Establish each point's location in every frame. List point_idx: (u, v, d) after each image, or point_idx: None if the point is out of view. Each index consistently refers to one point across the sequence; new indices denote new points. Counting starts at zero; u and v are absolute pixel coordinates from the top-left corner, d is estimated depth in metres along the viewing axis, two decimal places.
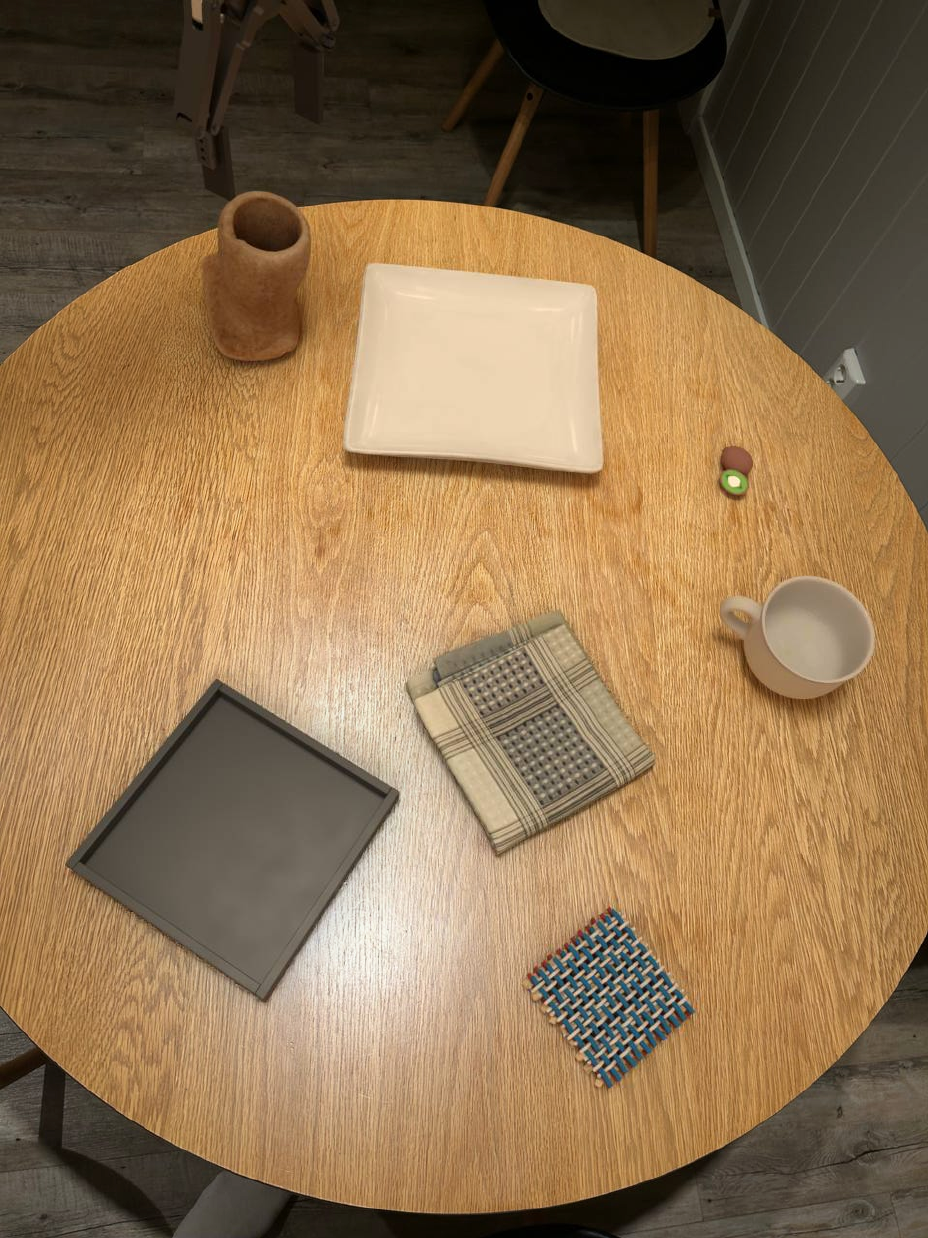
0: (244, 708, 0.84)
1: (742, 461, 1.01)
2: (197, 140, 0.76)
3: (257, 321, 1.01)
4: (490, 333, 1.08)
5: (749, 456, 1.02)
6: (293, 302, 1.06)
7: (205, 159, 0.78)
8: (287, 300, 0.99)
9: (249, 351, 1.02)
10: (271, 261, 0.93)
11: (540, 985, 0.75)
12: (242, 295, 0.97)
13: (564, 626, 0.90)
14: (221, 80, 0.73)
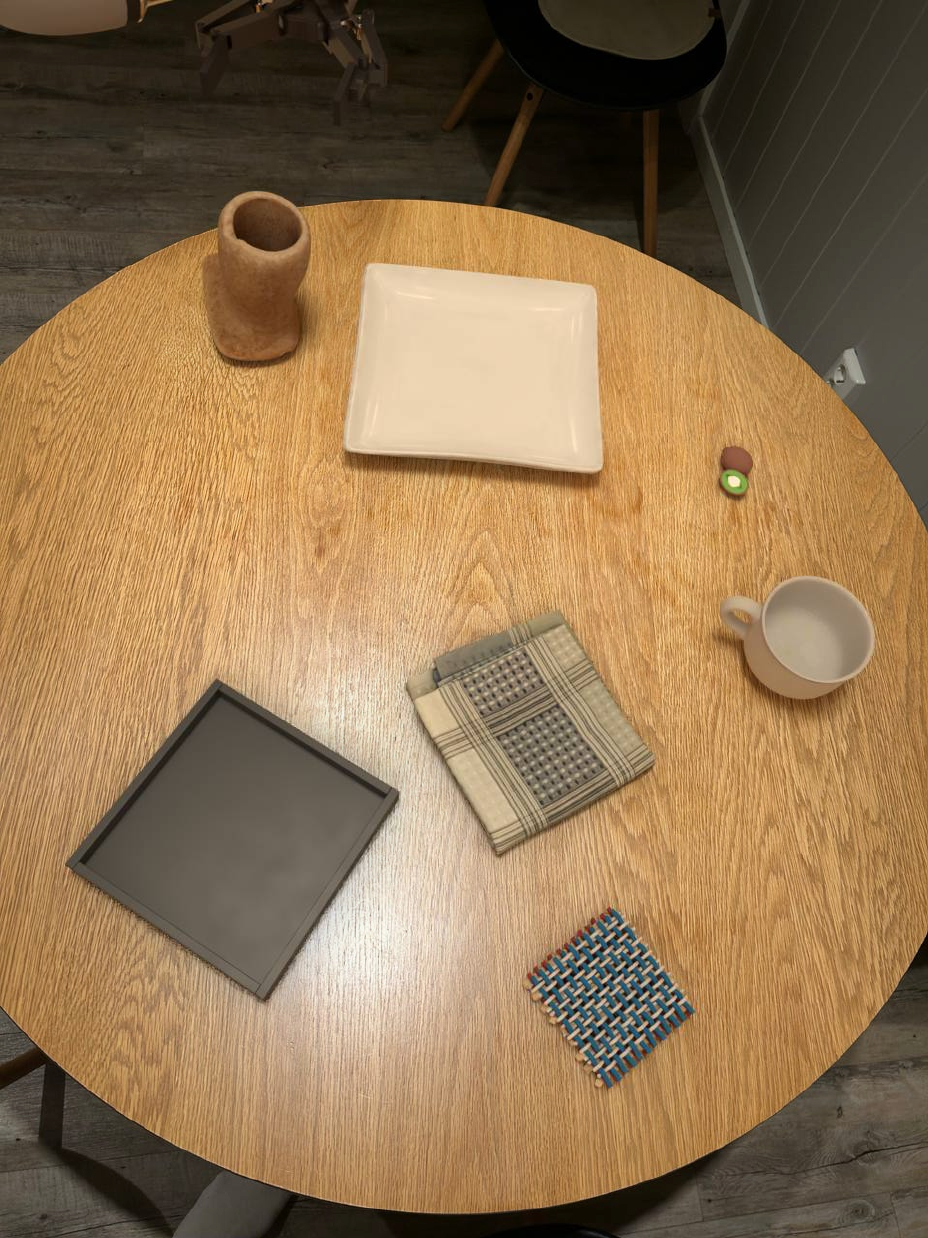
0: (244, 708, 0.84)
1: (742, 461, 1.01)
2: (365, 79, 0.96)
3: (257, 321, 1.01)
4: (490, 333, 1.08)
5: (749, 456, 1.02)
6: (293, 302, 1.06)
7: (361, 93, 0.96)
8: (287, 300, 0.99)
9: (249, 351, 1.02)
10: (271, 261, 0.93)
11: (540, 985, 0.75)
12: (242, 295, 0.97)
13: (564, 626, 0.90)
14: None
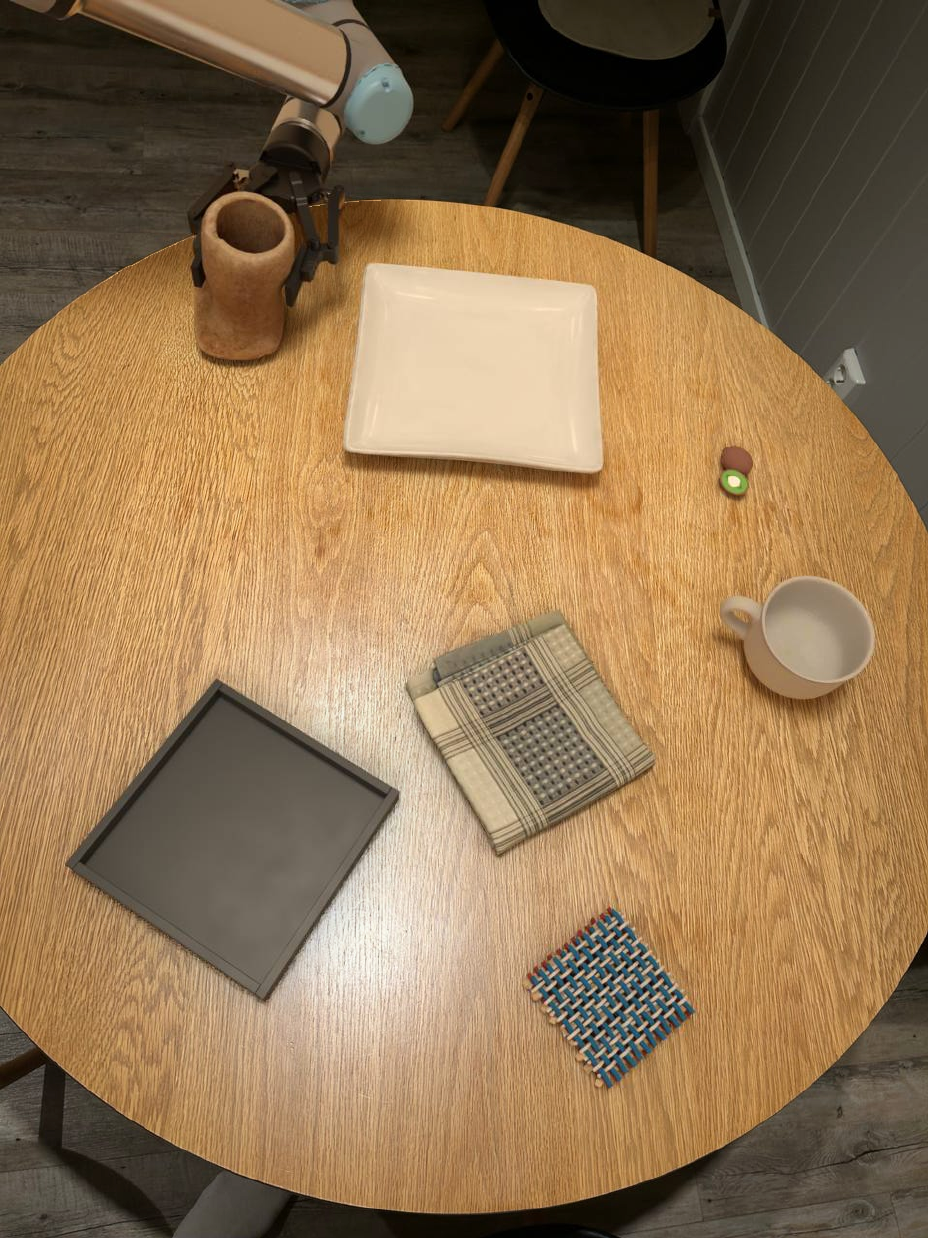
0: (244, 708, 0.84)
1: (742, 461, 1.01)
2: (317, 260, 1.00)
3: (237, 320, 1.01)
4: (490, 333, 1.08)
5: (749, 456, 1.02)
6: (280, 305, 1.05)
7: (313, 273, 1.00)
8: (266, 302, 0.98)
9: (227, 350, 1.02)
10: (248, 262, 0.93)
11: (540, 985, 0.75)
12: (221, 294, 0.97)
13: (564, 626, 0.90)
14: None
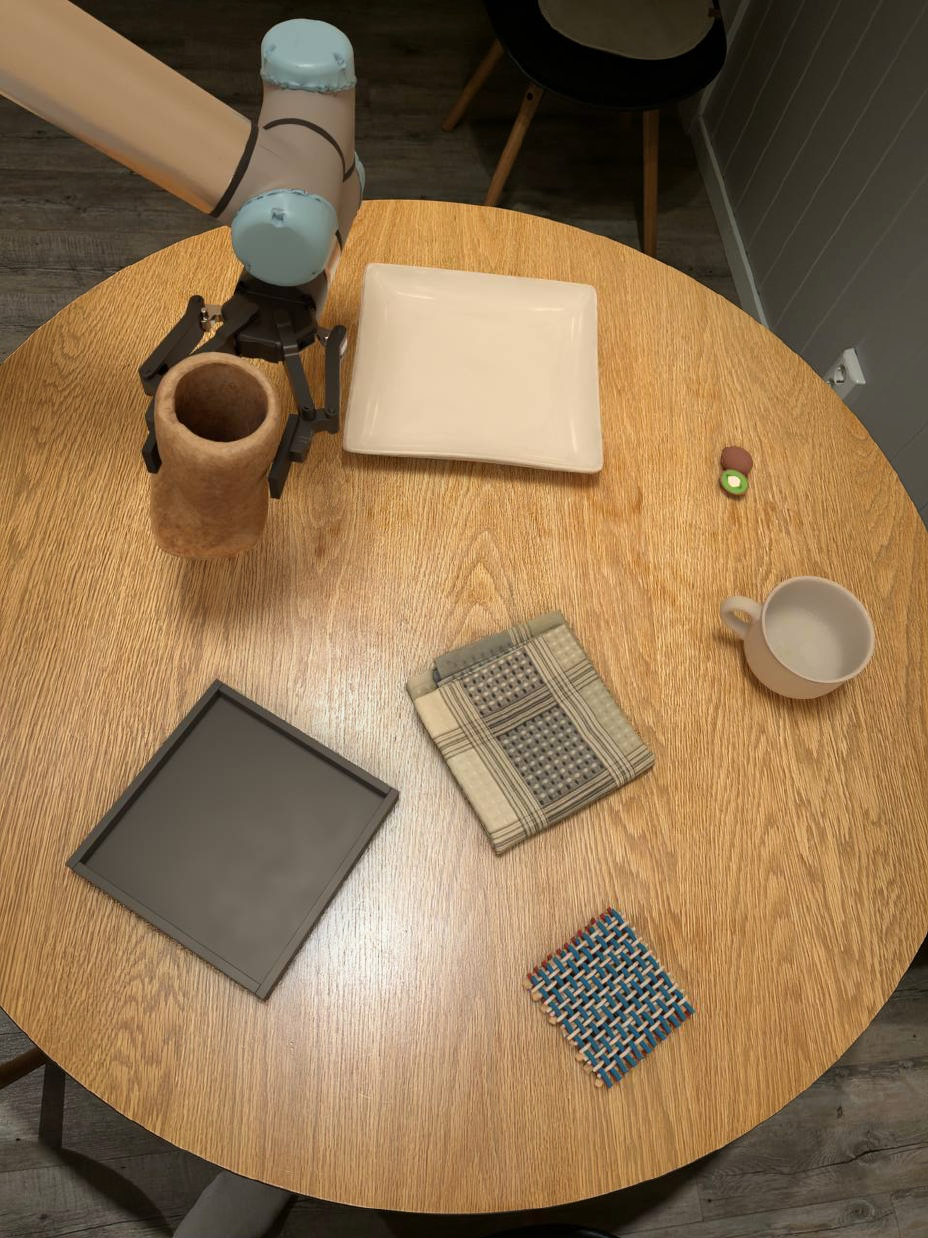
0: (244, 708, 0.84)
1: (742, 461, 1.01)
2: (311, 433, 0.75)
3: (206, 513, 0.76)
4: (490, 333, 1.08)
5: (749, 456, 1.02)
6: (264, 481, 0.81)
7: (306, 452, 0.75)
8: (244, 494, 0.74)
9: (194, 548, 0.77)
10: (217, 456, 0.68)
11: (540, 985, 0.75)
12: (182, 487, 0.72)
13: (564, 626, 0.90)
14: None
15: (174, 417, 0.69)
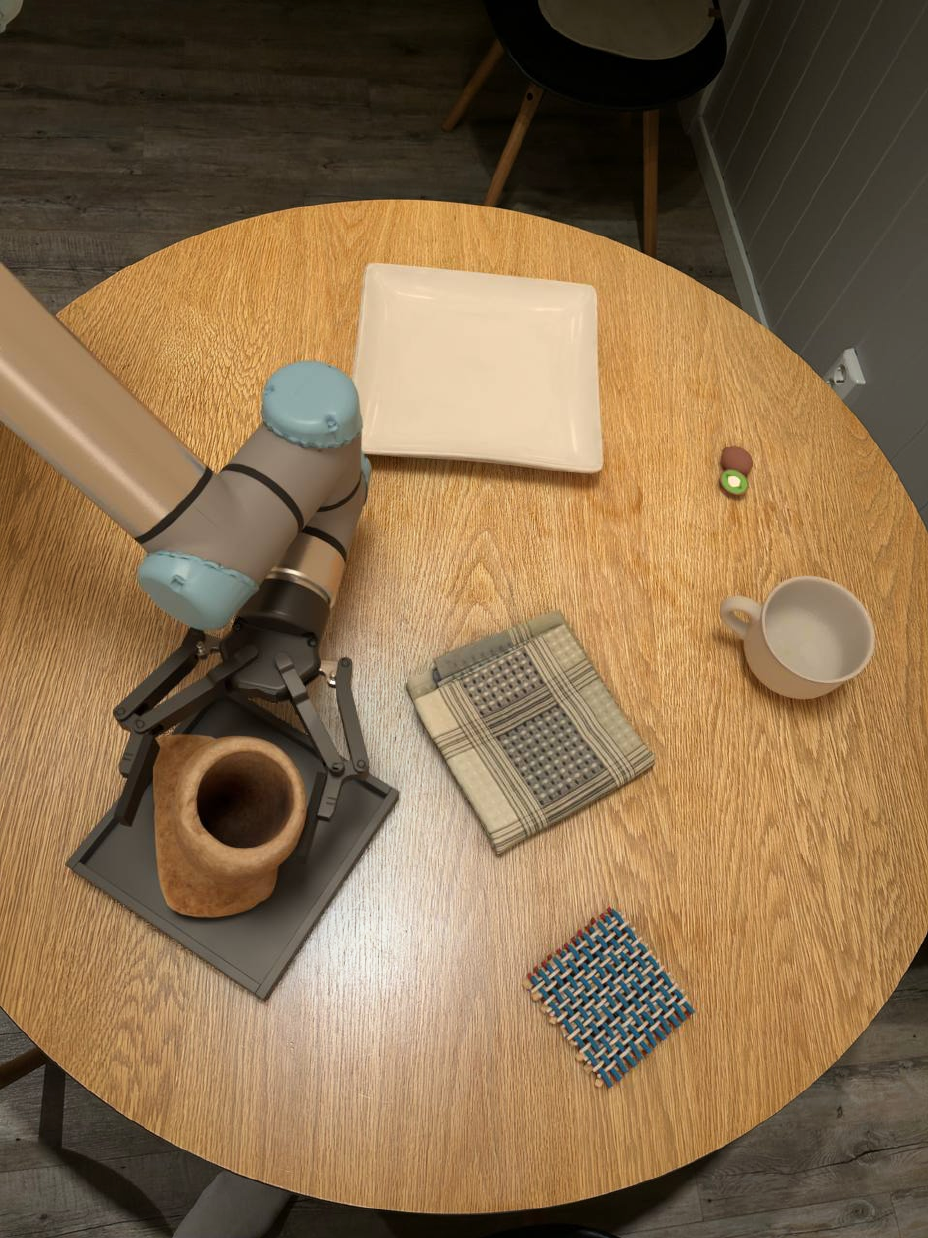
0: (244, 708, 0.84)
1: (742, 461, 1.01)
2: (339, 790, 0.72)
3: None
4: (490, 333, 1.08)
5: (749, 456, 1.02)
6: None
7: (334, 811, 0.72)
8: None
9: (207, 908, 0.74)
10: (247, 866, 0.65)
11: (540, 985, 0.75)
12: None
13: (564, 626, 0.90)
14: None
15: (198, 822, 0.66)
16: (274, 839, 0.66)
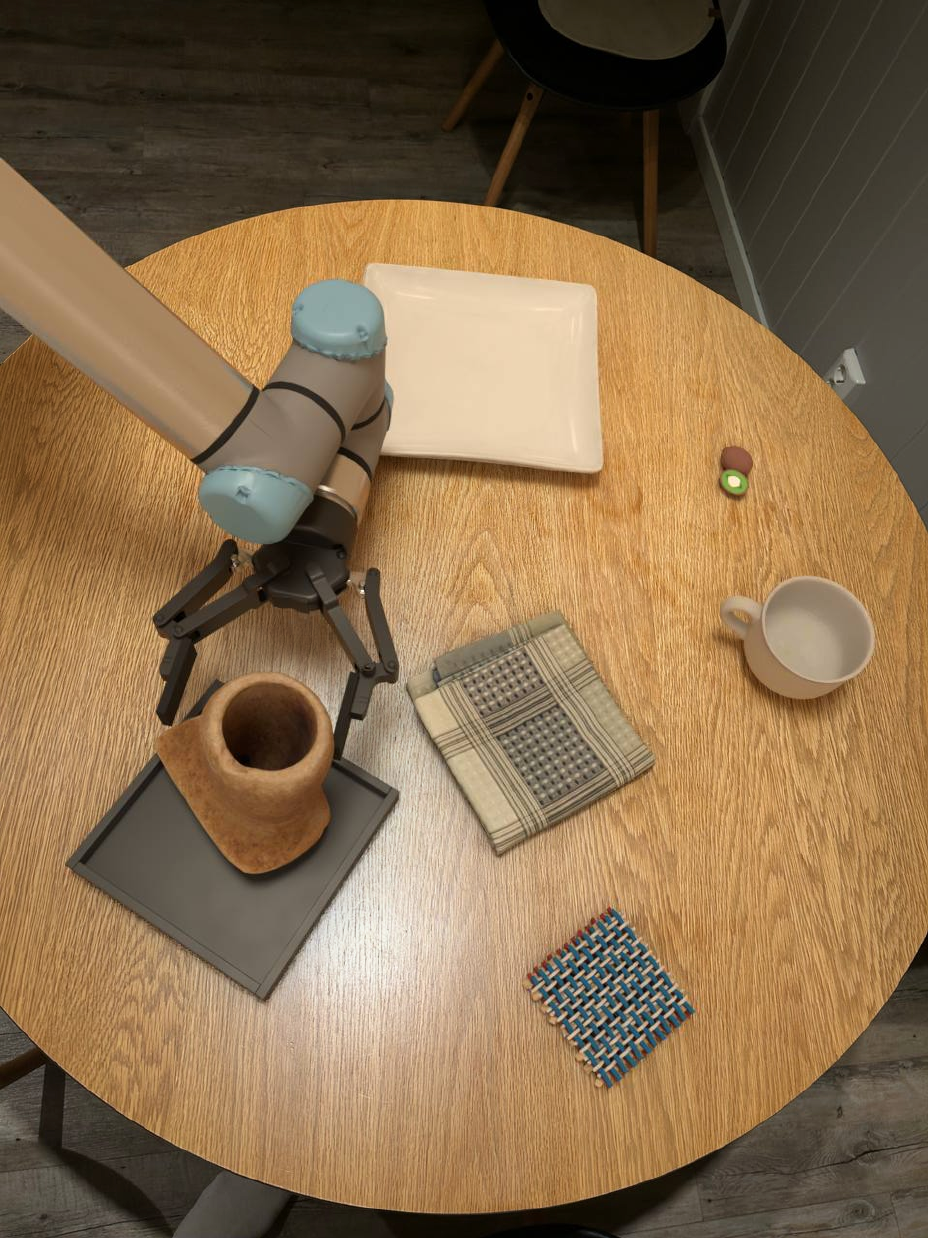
0: None
1: (742, 461, 1.01)
2: (371, 690, 0.75)
3: (280, 820, 0.74)
4: (490, 333, 1.08)
5: (749, 456, 1.02)
6: None
7: (366, 709, 0.75)
8: None
9: (281, 855, 0.76)
10: (302, 779, 0.67)
11: (540, 985, 0.75)
12: (265, 817, 0.70)
13: (564, 626, 0.90)
14: None
15: (238, 765, 0.67)
16: (313, 746, 0.68)
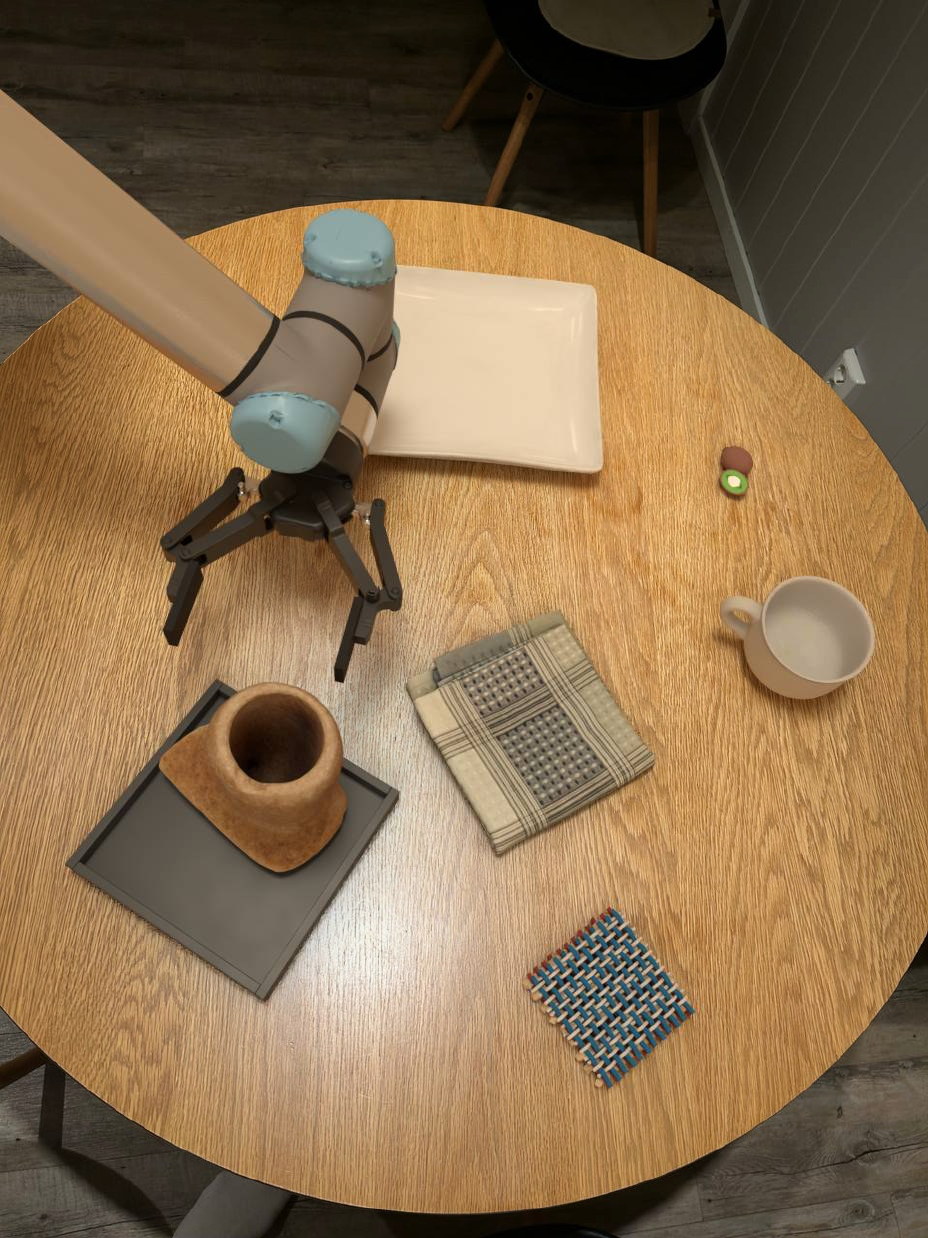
0: None
1: (742, 461, 1.01)
2: (375, 615, 0.76)
3: (302, 817, 0.76)
4: (490, 333, 1.08)
5: (749, 456, 1.02)
6: None
7: (370, 634, 0.76)
8: None
9: (309, 848, 0.77)
10: (320, 783, 0.68)
11: (540, 985, 0.75)
12: (289, 822, 0.71)
13: (564, 626, 0.90)
14: None
15: (255, 782, 0.67)
16: (324, 748, 0.69)
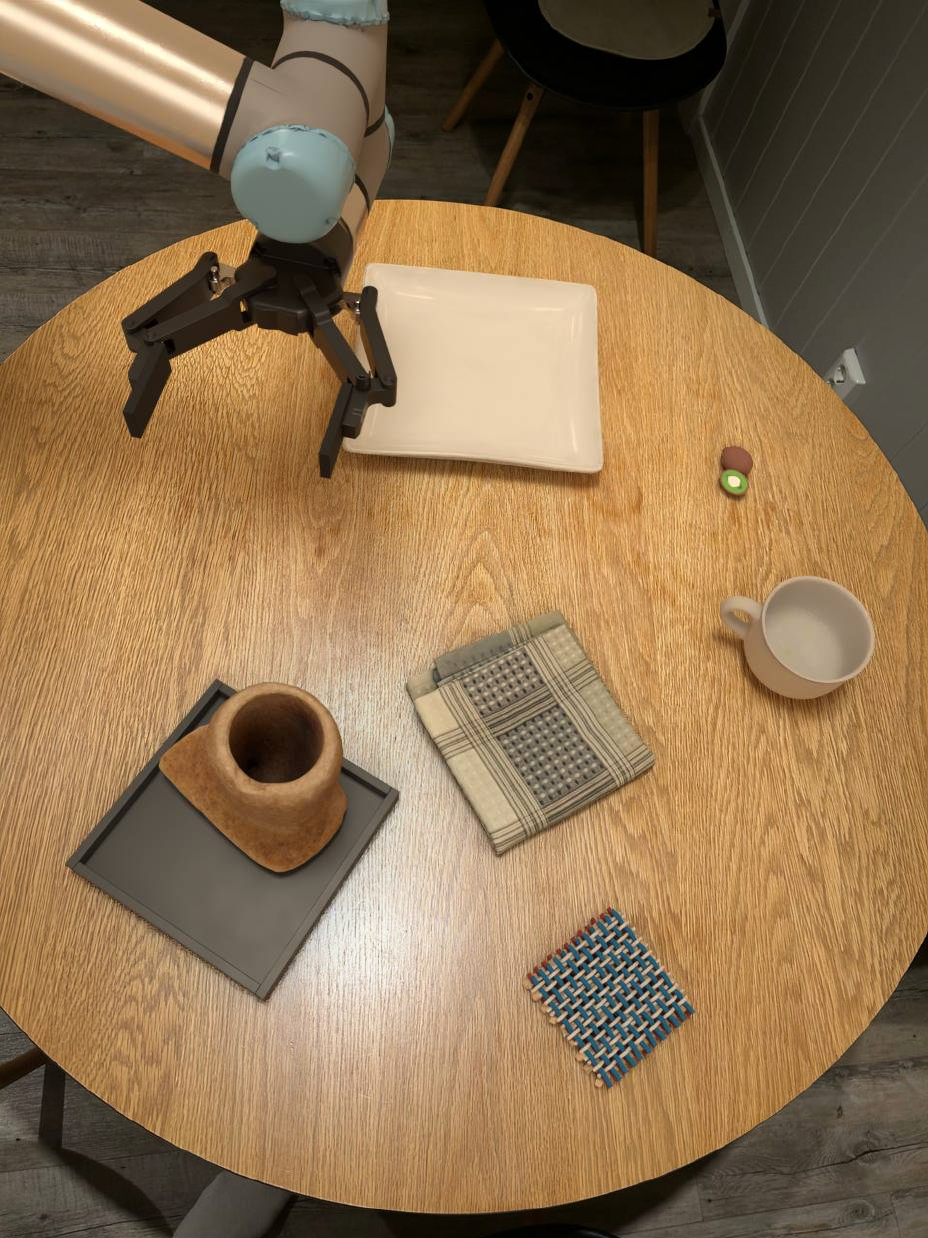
0: None
1: (742, 461, 1.01)
2: (365, 405, 0.67)
3: (301, 817, 0.76)
4: (490, 333, 1.08)
5: (749, 456, 1.02)
6: None
7: (360, 426, 0.67)
8: None
9: (309, 848, 0.77)
10: (320, 783, 0.68)
11: (540, 985, 0.75)
12: (289, 822, 0.71)
13: (564, 626, 0.90)
14: None
15: (255, 782, 0.67)
16: (323, 748, 0.69)
